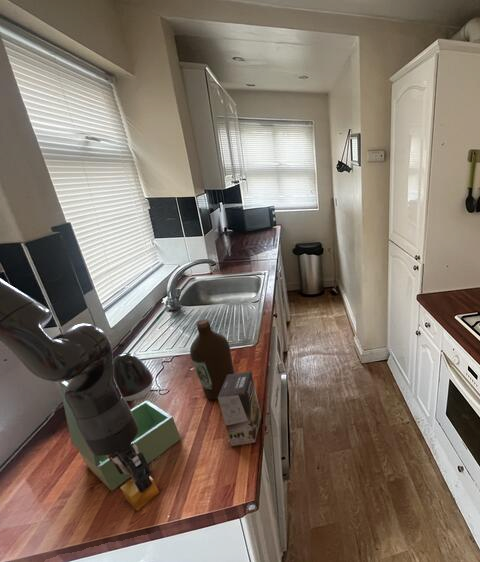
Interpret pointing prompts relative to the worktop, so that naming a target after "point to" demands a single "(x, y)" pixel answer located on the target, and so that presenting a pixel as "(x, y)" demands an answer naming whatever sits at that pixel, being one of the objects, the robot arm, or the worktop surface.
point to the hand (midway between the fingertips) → (135, 479)
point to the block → (138, 494)
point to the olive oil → (211, 359)
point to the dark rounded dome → (132, 376)
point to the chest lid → (77, 431)
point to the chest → (140, 442)
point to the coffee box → (240, 408)
